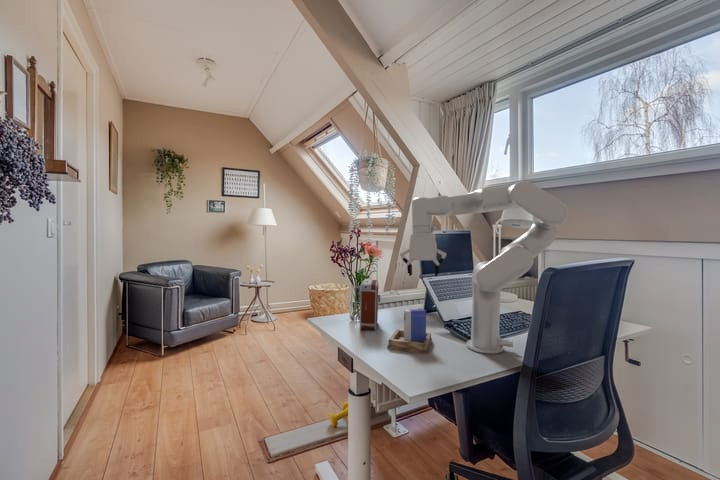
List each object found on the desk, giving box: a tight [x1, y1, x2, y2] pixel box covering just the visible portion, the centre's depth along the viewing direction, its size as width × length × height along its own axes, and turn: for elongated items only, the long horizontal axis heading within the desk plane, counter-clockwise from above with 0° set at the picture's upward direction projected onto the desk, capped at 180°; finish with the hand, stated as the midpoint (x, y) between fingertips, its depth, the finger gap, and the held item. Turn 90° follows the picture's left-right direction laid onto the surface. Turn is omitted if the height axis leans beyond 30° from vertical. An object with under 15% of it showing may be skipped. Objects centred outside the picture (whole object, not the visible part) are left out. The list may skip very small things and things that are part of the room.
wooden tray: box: [386, 328, 433, 355], centre depth 124 cm, size 14×14×3 cm
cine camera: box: [359, 278, 381, 331], centre depth 149 cm, size 9×19×20 cm, turn 174°
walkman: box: [403, 308, 427, 342], centre depth 124 cm, size 8×3×12 cm, turn 100°
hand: (423, 275), depth 127 cm, fingers open, 9 cm apart
